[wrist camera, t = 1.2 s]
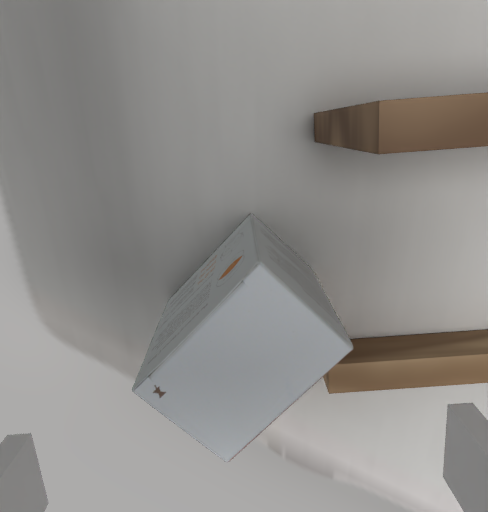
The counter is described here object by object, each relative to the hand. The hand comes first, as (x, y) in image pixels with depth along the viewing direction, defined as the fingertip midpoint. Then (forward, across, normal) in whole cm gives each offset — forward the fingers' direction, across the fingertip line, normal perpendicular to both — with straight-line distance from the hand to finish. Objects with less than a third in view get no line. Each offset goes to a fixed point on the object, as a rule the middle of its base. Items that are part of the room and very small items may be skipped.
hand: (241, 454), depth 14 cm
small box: (+15, 0, 0) cm, 15 cm away
